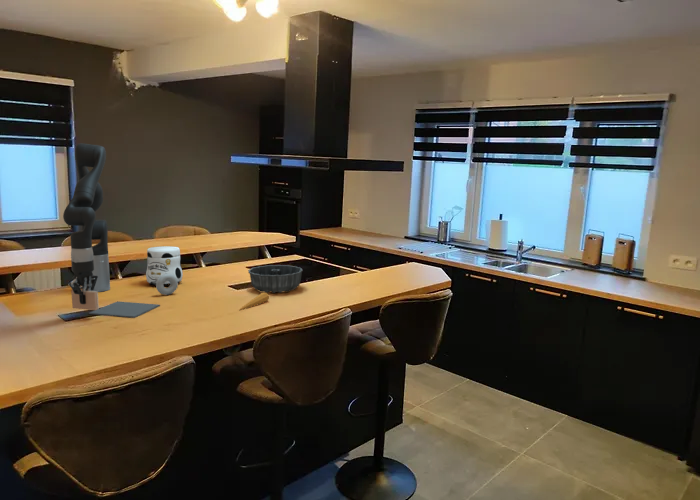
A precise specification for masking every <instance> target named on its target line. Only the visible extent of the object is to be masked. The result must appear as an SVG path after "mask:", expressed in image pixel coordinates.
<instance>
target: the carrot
mask: <svg viewBox="0 0 700 500" xmlns="http://www.w3.org/2000/svg"><path fill="white" fill-rule="evenodd" d="M269 300H270V295H269V294H268V293H267V292H260V294H258V295H257V296H255V297H254V298H253V299H251V300H250V301H248V302H246V303H245V304H244V305H243V306H242V307H240V308H239V309H238V310H239V311H242V309H243V310H245V308H246V309H249V308H251V306H252V307H255V306H257V304H258V305H261V304H264V303H267V302H268V301H269ZM263 302H264V303H263ZM260 303H261V304H260ZM254 305H255V306H254ZM248 307H249V308H248Z"/></svg>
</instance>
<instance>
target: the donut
mask: <svg viewBox="0 0 700 500" xmlns="http://www.w3.org/2000/svg"><path fill="white" fill-rule="evenodd" d="M166 281H169V282H170V285H168V287H165V285H164V283H165V282H166ZM155 286H156V287H155V288H156V290H157V292H158V293H159V294H161V295H163V296H169V295H171V294H172V295H173V293H175V292H176V291H177V289H178V286H179V283H178V281H177V278H176V277H175V276H174V275H172V274H163V275H162V276H160V277H159V278H158V280H157V282H156V285H155Z"/></svg>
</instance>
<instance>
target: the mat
mask: <svg viewBox="0 0 700 500" xmlns="http://www.w3.org/2000/svg"><path fill="white" fill-rule="evenodd" d="M160 306H161V304H157V303H155V304H154V303H145V302H143V303H142V302H132V301H131V302H129V301H115V302H112V303H110V304H108V305H107V304H106V305H104V306H102V307H99V309H97V310H91V311H90V312H88V315H94V316H95V315H96V316H107V317H117V318H118V317H119V318H131V319H135V318H138V317H140V316H142V315H144V314H146V313H148V312H150V311H152V310H154V309H156V308H159V307H160Z"/></svg>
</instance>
